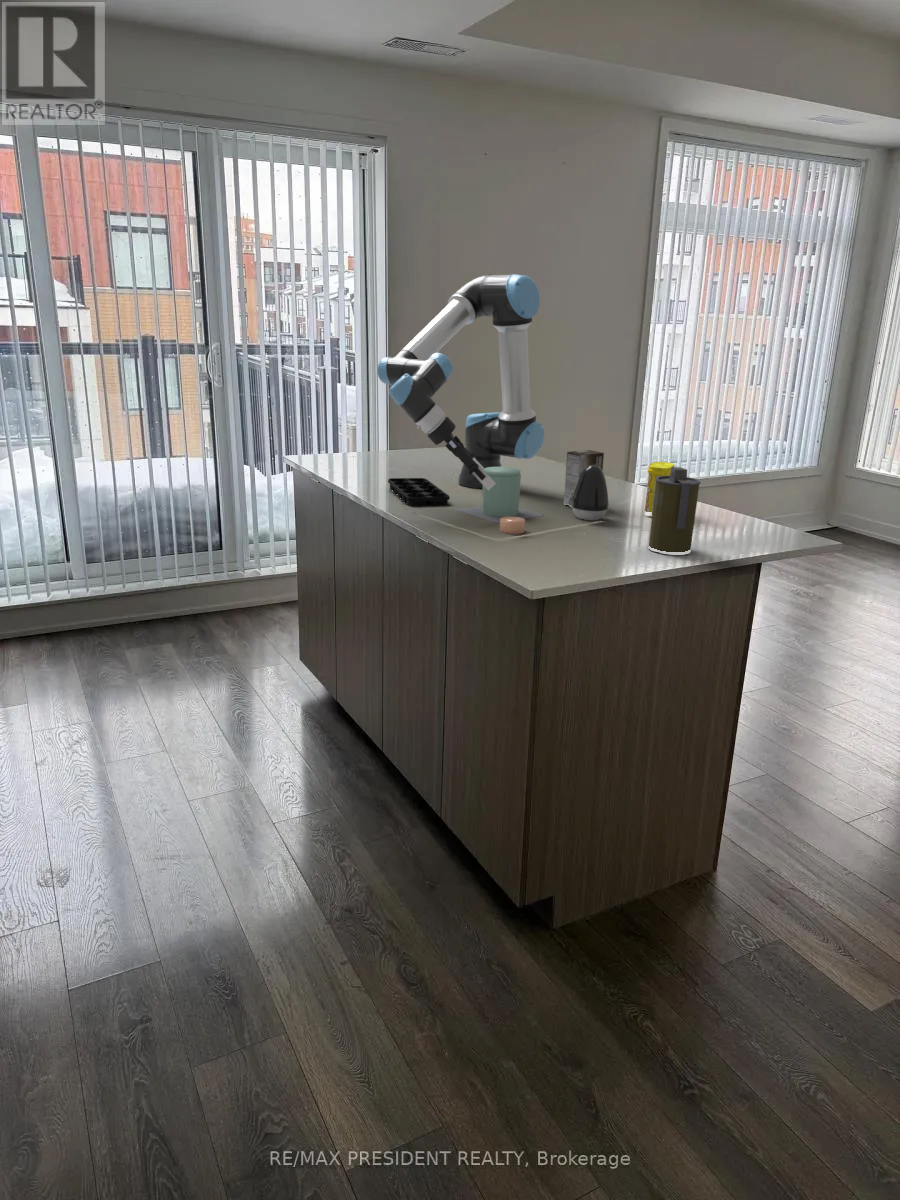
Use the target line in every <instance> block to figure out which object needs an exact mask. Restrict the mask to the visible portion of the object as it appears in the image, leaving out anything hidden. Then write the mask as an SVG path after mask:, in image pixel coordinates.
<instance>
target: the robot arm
mask: <svg viewBox="0 0 900 1200" xmlns="http://www.w3.org/2000/svg"><path fill="white" fill-rule="evenodd" d="M540 298H541V295H540V291H539V288H538V286H537V284H536V282H535V281H534V280H533V278H531V277H530V276H528V275H523V274H516V273H513V274H508V273H507V274H483V275H480V276H477V277H474V278H473V279H471V280H470V281H468V282H467V283H466V284H464V285H462V286H461V287H460V288H458V289H457V290H456V291H455V292H454V293H453V294H452V295H451V296H450V297H449V298H448V300H447V305H446V306H445V307H444V308H442V309H441V311H440V312H438V313H437V315H435V316H434V318H432V320H431V321H429V322H428V323H427V324H426V326H425V327H424V328H422V329H421V330H420V331H419V332H418V333H417V334H416V335H415V336H414V337H413V338H412V339H411V340H410V341H409V342H408V343H407V344H406V345H404V347H403V348H402V349H401V350H400V351H399V352H398V353H396V355H395V356H385V357H382V359H381V360H379V362H378V365H377V377H378V378H379V380H380V382H382V383H383V384H385V385H389V386H391V387H390V388H389V390H388V394H389V396H390V397H391V399H392V400H393V401H394V402H395V404H396V405H397V406H398V407H399V408H401V410H403V412H404V413H405V414H406V415H407V416H408V417H409V418H410V419H411V420H412V421H413V423H415V425H417V426H416V430H420V429H421V431H422V432H423V433H424V434H427V438H428V439H429V440H431V442H432V443H433V444H434V445H436V446H437V445H440V444H441V443H442V442H445V446H446V447H445V448H446V449H447V450H449V451H450V452H451V453H452V454H453V455H454V456H455V457H456V458H457V459H459V460H460V462H461V463H462V467H461V470H460V473H459V475H458V481H457V482H458V485H460V486H463V487H466V488H472V489H473V488H474V489H483V485H484V487H485V488H486V489H487V490H489V489H491V488H492V487H493V486H494V485H495V484H496V483H495V482H494V481H493V480H492V479H491V478H490V477H489V476H488V475H487V474H486V472H485V471H484V469H485V468H488V467H502V463H501V456H503V457H509V458H514V459H515V458H516V459H518V460H521V459H523V460H530V459H533V458H534V457H535V456H536V455H538V453H539V452H540V450H541V449H542V446H543V445H544V444H543V443H544V440H545V429H544V426H543V424H542V423H540V422H539V421H537V415H536V411H534V410H533V409H532V407H531V388H530V387H531V386H530V385H531V384H530V365H529V363H530V361H529V340H528V339H529V338H528V335H529V334H528V328H529V327H530V326H531V324H532V323H533V317H535V316H536V314H537V313H538V311H539V309H538V308H540V304H541V303H540V302H541V299H540ZM483 317H490V318H491V319H492V327H494V328H495V329H496V330H497V332H498V346H499V347H498V350H499V365H500V366H499V368H500V369H499V370H500V382H501V384H500V385H501V403H502V404H501V405H502V411H501V412H499V411H498V412H484V413H482V412H481V413H471V414H469V415H468V416H467V417H466V422H465V423H466V424H465V427H464V428H465V432H464V434H465V437H464V444H463V442H462V441H461V439H460V438H459V436H457V435H455V436H454V435H453V432H454V430H455V429H456V424H455V423H454V421H453V420H451V419H450V417H449V416H446V413H445V412H444V410H443V409H441V407H440V406H439V405H438V404H437V403H436V402H435V401H434V400H433V399H432V397H433V396H434V395H435V394H436V392H437V391H439V390H440V389H441V387H442V386H443V385H444V384H445V383H447V381H448V379H449V378H450V377H451V376H452V375H453V372H454V367H453V364H452V362H451V360H450V359H449V357H448V356H447V355H445V354H443V353H440V350H442V348H443V347H444V346H445V345H446V344H448V342H450V340H451V339H452V338H453V337H454V336H455V335H456V334H457V333H459V331H461V329H463V328H464V326H465V325H471V324H472V323H473V322H474V321H475V320H477V319H479V318H483Z"/></svg>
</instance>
